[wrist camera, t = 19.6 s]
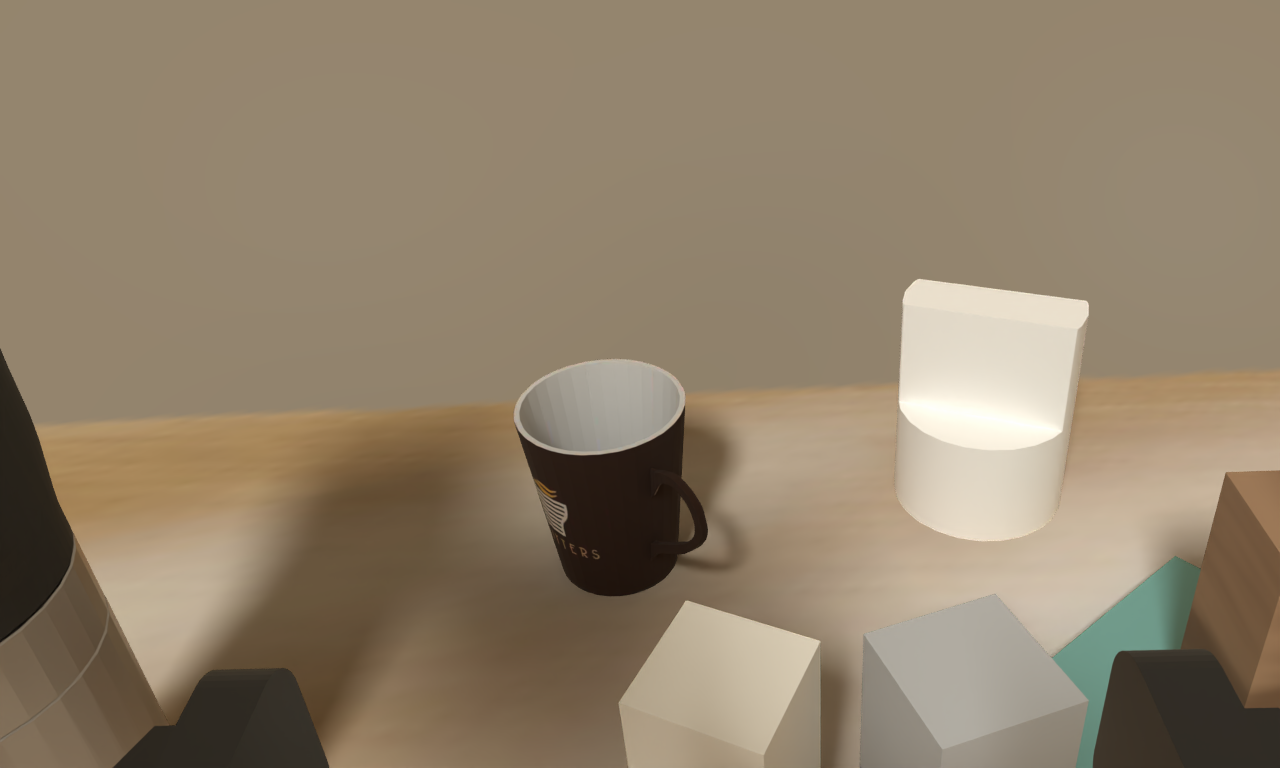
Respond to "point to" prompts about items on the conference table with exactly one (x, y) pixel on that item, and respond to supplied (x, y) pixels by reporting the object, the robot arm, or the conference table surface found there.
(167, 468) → the conference table surface
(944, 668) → the grey brick
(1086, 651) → the teal board
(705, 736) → the off-white brick
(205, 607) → the conference table surface
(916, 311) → the base with upright slab
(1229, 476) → the walnut brick
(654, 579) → the coffee mug
